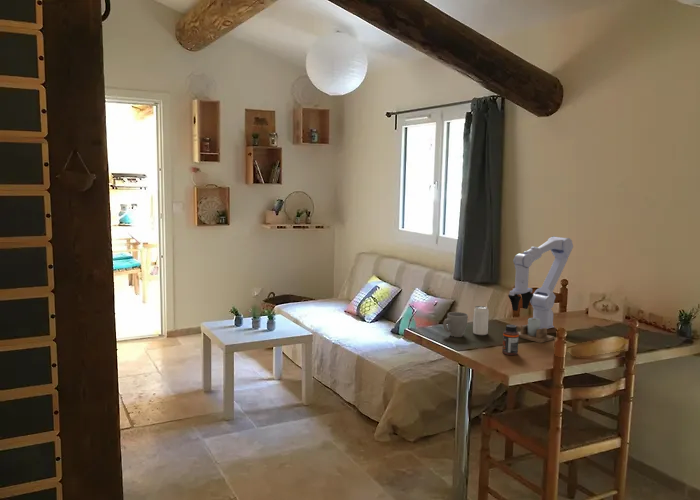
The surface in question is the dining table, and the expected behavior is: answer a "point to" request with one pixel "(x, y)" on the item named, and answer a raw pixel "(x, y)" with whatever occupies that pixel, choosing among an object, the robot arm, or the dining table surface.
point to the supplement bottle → (510, 340)
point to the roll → (533, 326)
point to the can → (480, 320)
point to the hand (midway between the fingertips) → (520, 309)
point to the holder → (540, 334)
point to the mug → (456, 323)
